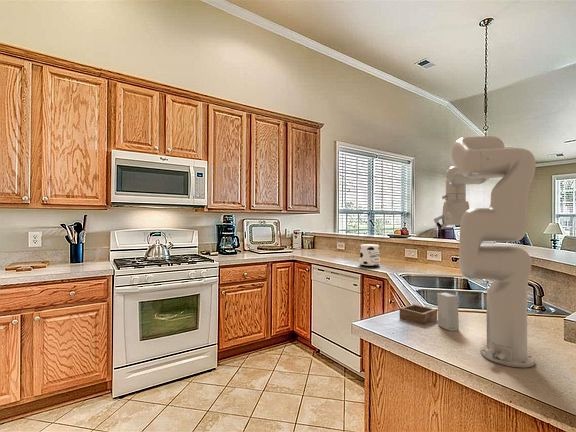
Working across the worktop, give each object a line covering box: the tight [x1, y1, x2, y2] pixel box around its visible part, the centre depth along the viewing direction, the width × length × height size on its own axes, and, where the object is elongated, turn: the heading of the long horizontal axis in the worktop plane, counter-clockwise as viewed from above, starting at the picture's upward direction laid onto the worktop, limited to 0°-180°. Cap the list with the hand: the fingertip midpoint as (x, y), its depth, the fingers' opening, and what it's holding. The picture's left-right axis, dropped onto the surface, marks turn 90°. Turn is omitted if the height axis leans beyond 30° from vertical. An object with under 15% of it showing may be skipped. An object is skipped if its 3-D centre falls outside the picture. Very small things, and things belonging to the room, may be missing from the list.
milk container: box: [358, 243, 381, 267], centre depth 264 cm, size 17×17×18 cm
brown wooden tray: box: [399, 303, 438, 326], centre depth 124 cm, size 10×10×4 cm
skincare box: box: [436, 292, 460, 332], centre depth 114 cm, size 6×4×12 cm
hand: (455, 238), depth 133 cm, fingers open, 9 cm apart
